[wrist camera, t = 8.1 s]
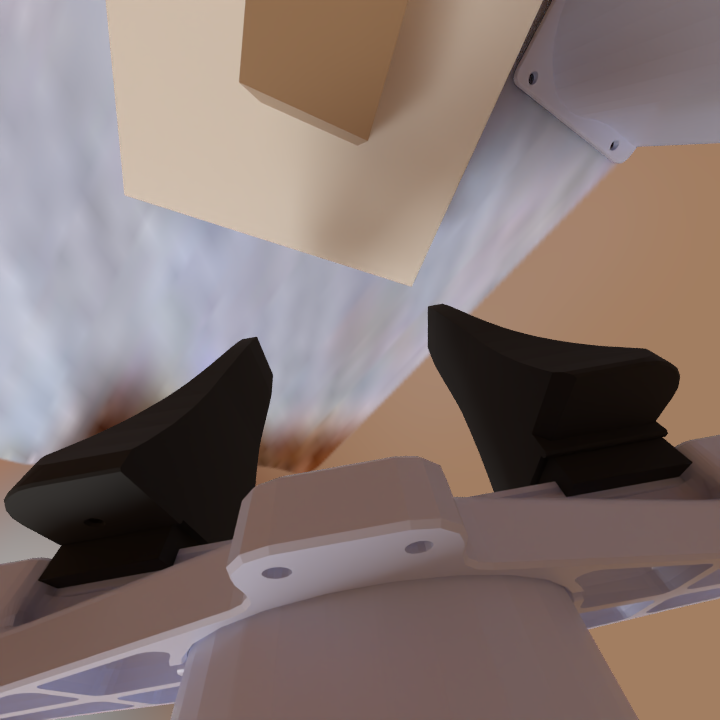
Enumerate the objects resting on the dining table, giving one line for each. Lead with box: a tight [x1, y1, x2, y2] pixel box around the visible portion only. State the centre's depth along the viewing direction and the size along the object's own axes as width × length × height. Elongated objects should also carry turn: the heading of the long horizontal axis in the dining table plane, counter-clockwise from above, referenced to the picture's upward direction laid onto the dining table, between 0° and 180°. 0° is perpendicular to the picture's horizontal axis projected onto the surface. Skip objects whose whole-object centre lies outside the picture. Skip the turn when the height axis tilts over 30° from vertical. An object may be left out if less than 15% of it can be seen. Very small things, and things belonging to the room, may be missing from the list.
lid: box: [106, 0, 543, 287], centre depth 9 cm, size 14×14×4 cm
